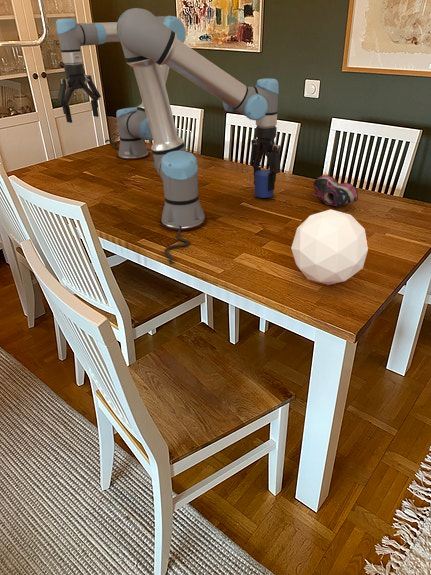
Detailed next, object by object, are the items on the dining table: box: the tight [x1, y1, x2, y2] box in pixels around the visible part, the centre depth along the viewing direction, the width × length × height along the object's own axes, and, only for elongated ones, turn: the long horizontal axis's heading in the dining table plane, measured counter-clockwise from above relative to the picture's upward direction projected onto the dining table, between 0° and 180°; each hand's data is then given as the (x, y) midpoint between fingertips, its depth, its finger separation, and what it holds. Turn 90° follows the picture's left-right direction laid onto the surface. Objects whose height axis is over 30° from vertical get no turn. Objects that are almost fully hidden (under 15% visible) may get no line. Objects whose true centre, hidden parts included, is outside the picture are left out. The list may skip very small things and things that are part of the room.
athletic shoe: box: [311, 174, 359, 208], centre depth 165 cm, size 11×22×12 cm
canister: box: [254, 169, 275, 199], centre depth 171 cm, size 7×7×9 cm
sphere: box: [290, 208, 369, 286], centre depth 117 cm, size 19×20×20 cm
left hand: (83, 119), depth 188 cm, fingers open, 13 cm apart
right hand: (264, 186), depth 172 cm, fingers closed on canister, 7 cm apart
